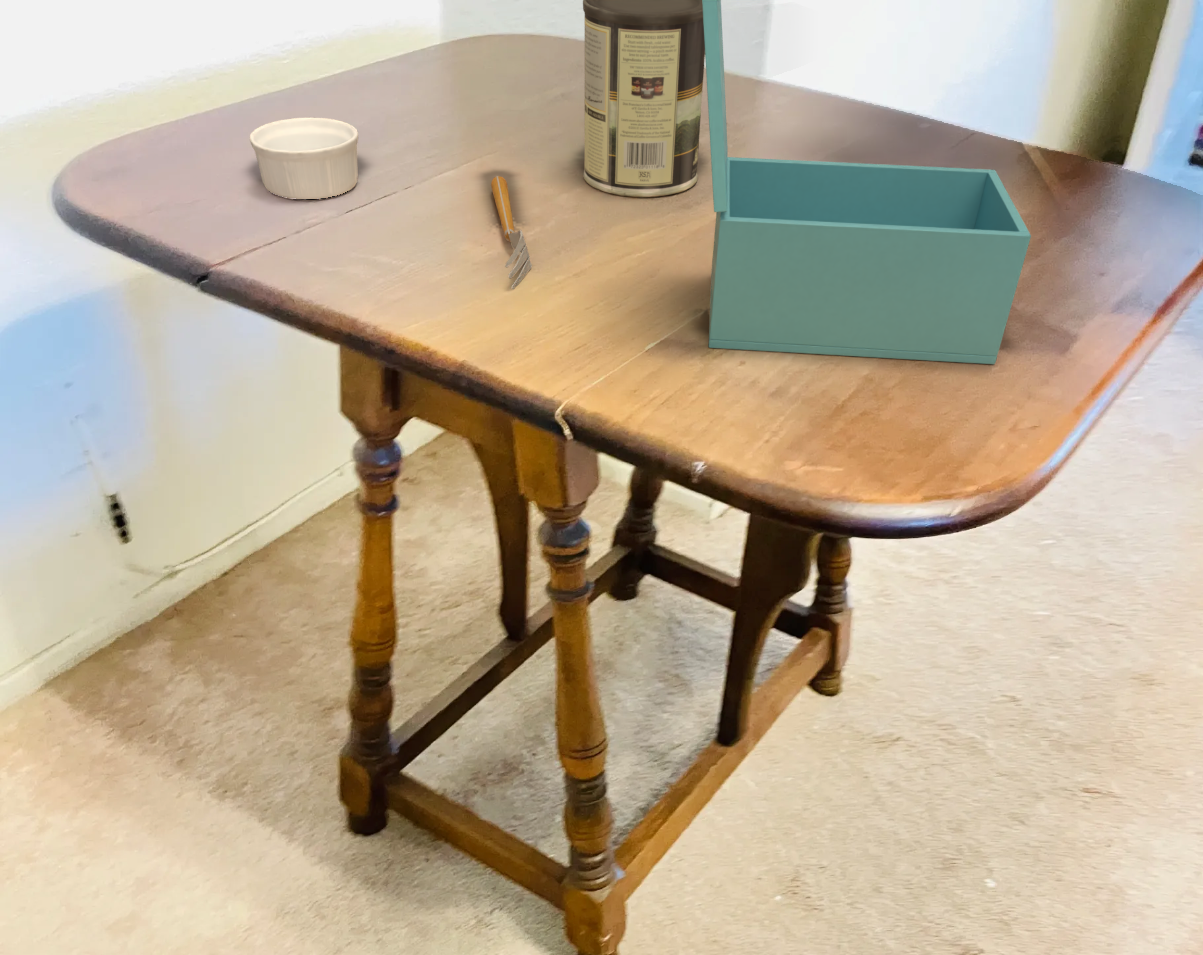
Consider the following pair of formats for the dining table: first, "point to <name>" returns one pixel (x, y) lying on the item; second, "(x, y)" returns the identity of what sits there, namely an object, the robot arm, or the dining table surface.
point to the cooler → (865, 260)
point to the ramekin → (307, 157)
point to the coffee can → (643, 95)
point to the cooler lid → (716, 100)
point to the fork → (510, 229)
